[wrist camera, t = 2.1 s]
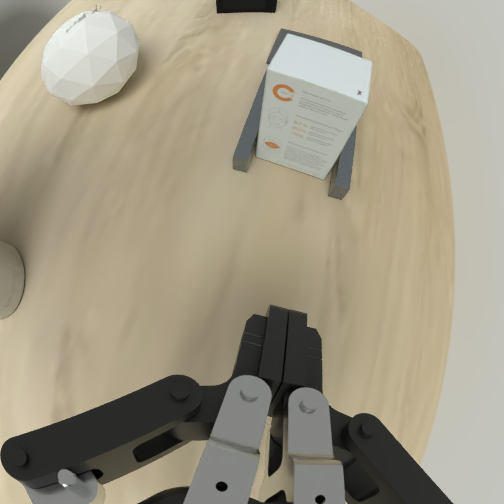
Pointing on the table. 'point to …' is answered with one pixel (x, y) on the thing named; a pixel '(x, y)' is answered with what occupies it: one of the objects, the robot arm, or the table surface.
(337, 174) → the grey u-shaped frame
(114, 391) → the table surface
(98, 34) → the geodesic sphere
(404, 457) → the robot arm
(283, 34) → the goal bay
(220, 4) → the digital camera
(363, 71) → the small box
